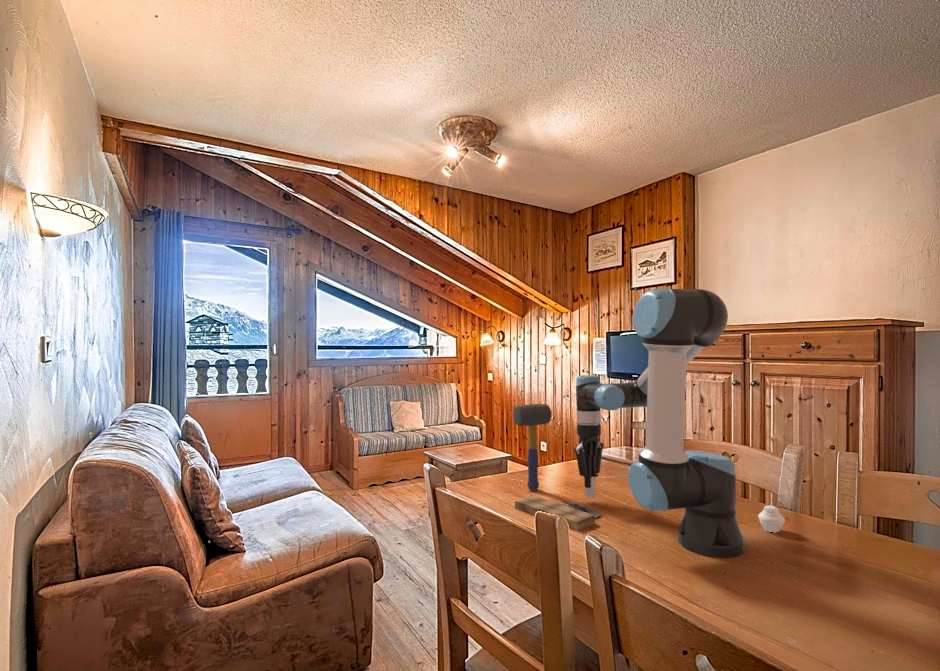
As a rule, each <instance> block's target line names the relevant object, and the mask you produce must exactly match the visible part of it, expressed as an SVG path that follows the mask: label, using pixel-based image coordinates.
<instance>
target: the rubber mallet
mask: <svg viewBox="0 0 940 671" xmlns="http://www.w3.org/2000/svg"><path fill="white" fill-rule="evenodd" d="M512 419H513V422H514V424H515V425H516V426H518V427H519V426H520V427H522V426H523V427H526V426H527V427H528V449H527V459H526V460H527V461H526V462H527V468H528V469H527V470H528V474H527V475H528V476H527V477H528V478H527V479H528V480H527V487H528V490H529V491H534V492H535V491H538V489H539V486H540V483H539V479H538V478H539V477H538V476H539V475H538V468H539V455H538V448H537V426H540V425H541V426H542V425H545V424H549V423H550V422H551V420H552V409H551V408H550V406H549V405H548V404H546V403H529V404H522V405H516V406H515V407H514V408H513V411H512Z"/></svg>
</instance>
